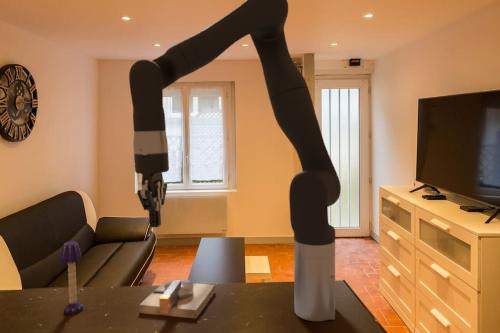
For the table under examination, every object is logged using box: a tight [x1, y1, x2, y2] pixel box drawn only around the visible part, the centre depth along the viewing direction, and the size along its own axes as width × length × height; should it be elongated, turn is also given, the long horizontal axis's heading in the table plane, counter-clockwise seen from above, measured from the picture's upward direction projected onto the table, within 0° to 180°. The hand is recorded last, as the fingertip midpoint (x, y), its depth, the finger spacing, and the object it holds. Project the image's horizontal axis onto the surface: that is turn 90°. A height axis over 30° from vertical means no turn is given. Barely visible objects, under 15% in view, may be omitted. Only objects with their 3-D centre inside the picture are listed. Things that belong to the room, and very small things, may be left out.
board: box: [138, 280, 216, 319], centre depth 94 cm, size 14×14×2 cm
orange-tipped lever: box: [159, 279, 193, 314], centre depth 90 cm, size 15×7×4 cm, turn 174°
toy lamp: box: [59, 240, 84, 315], centre depth 89 cm, size 5×5×17 cm
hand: (155, 226), depth 87 cm, fingers closed
